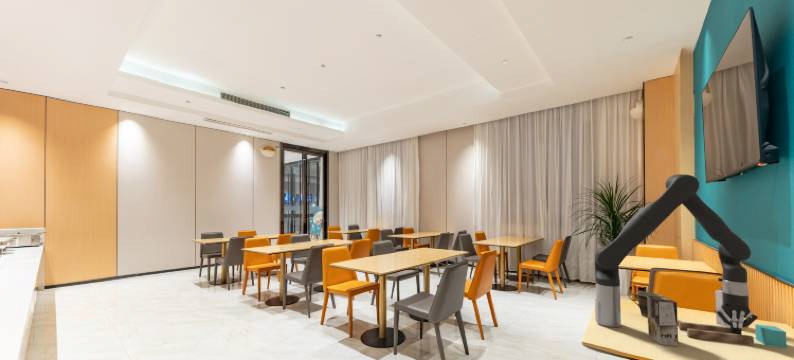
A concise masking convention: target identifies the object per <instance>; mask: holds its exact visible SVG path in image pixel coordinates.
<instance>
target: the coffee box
mask: <svg viewBox="0 0 794 360" xmlns="http://www.w3.org/2000/svg"><path fill="white" fill-rule="evenodd" d="M647 306H648V317H647V327H648V328H647V329H648V337H650V338H651V339H652V340H654V341H655V342H657V343H658V344H659V345H663V346H672V347H673V346H674V347H675V346H676V347H678V346H679V321H678V302H676V301H674V300H673V299H670V298H668V297H666V296H663V295H661V296H647Z"/></svg>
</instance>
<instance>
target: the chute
mask: <svg viewBox="0 0 794 360" xmlns="http://www.w3.org/2000/svg"><path fill="white" fill-rule="evenodd" d="M678 330H680V331H685V332H686V336H687V337H688V338H691V339H698V340H699V339H701V340H707V341H714V342H715V341H716V342H717V341H718V342H724V343H725V342H726V343H732V344H740V345H749V346H754V345H755V340H754V339H755V338H754V337H755V336H753V335H747V334H742V335H740V334H731V332H730V327H727V326H723V325H713V324H712V325H711V324H703V323H696V322H695V323H694V322H687V321H678Z"/></svg>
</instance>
